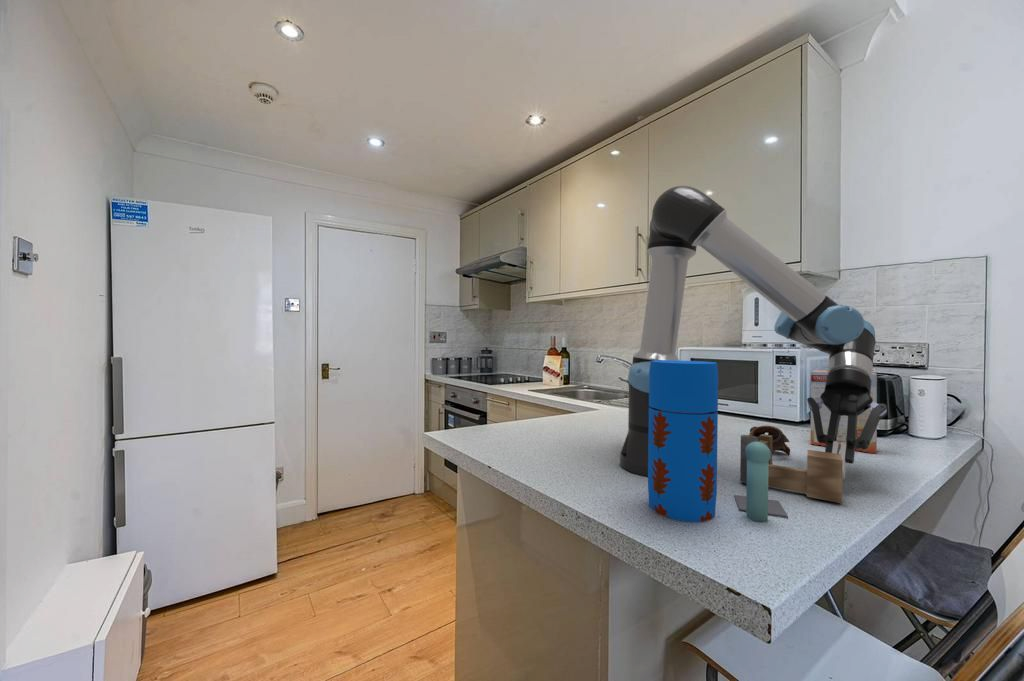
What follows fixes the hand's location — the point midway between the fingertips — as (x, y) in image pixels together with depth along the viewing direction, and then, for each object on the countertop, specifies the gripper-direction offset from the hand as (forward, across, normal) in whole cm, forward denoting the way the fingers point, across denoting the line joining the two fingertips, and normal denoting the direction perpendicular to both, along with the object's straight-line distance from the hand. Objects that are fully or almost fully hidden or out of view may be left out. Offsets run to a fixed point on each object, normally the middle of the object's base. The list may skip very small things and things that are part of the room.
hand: (837, 475), depth 77 cm
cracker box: (-28, +4, -36) cm, 46 cm away
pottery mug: (-13, +17, -20) cm, 29 cm away
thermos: (+22, +18, +18) cm, 33 cm away
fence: (+2, +13, -4) cm, 14 cm away
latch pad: (+14, +9, +10) cm, 20 cm away
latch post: (+18, +8, +14) cm, 24 cm away
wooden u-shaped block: (+6, +7, +1) cm, 9 cm away
